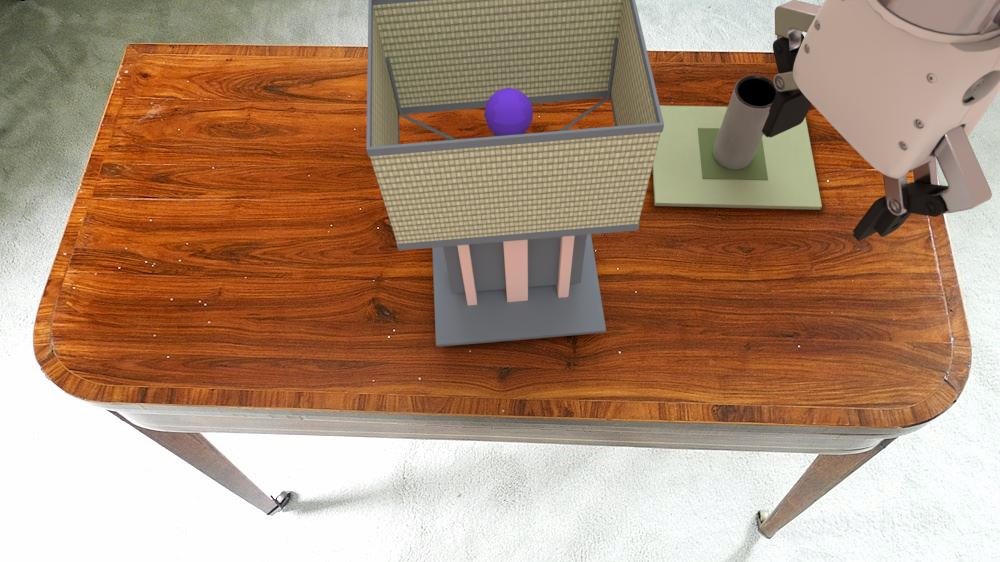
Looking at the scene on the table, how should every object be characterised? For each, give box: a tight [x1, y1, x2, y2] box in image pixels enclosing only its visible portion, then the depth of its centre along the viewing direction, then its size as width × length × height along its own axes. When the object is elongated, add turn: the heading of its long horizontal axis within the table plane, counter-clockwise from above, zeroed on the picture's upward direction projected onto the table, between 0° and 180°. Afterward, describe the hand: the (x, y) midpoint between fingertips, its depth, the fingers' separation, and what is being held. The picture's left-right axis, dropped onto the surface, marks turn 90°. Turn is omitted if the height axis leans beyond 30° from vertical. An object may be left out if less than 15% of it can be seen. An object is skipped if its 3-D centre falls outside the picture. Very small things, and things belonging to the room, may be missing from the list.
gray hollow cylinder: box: [713, 74, 778, 170], centre depth 78 cm, size 4×4×10 cm
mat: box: [652, 105, 823, 211], centre depth 83 cm, size 18×14×1 cm
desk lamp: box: [366, 0, 664, 348], centre depth 62 cm, size 18×14×33 cm
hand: (825, 176), depth 50 cm, fingers open, 9 cm apart
